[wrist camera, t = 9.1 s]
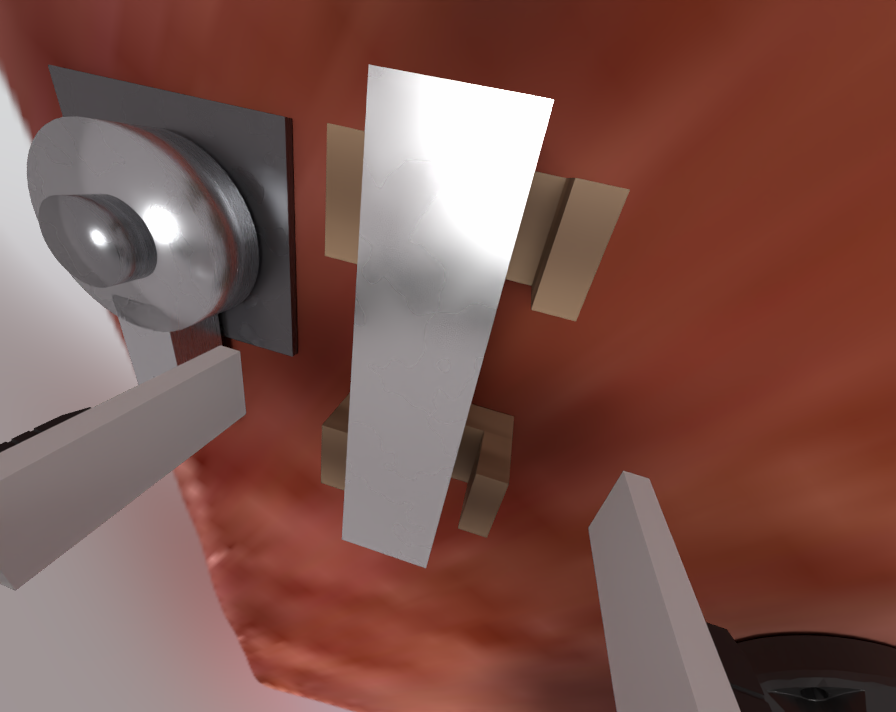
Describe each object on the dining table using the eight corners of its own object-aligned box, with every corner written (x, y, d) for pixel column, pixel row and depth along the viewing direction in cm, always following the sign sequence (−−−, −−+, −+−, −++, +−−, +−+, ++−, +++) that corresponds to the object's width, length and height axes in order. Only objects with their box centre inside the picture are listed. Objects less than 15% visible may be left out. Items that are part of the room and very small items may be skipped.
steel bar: (451, 475, 20) (425, 568, 15) (386, 454, 20) (341, 539, 16) (545, 132, 12) (553, 99, 7) (433, 110, 12) (368, 64, 7)
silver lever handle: (78, 108, 16) (-71, 85, 12) (251, 149, 15) (151, 137, 11) (156, 393, 24) (82, 435, 20) (272, 430, 23) (218, 481, 19)
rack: (496, 465, 22) (486, 537, 17) (362, 424, 22) (320, 482, 18) (599, 186, 14) (629, 189, 9) (388, 140, 15) (327, 123, 10)
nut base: (297, 352, 21) (292, 356, 20) (126, 302, 22) (118, 305, 22) (292, 118, 15) (284, 117, 15) (60, 67, 16) (47, 64, 16)
